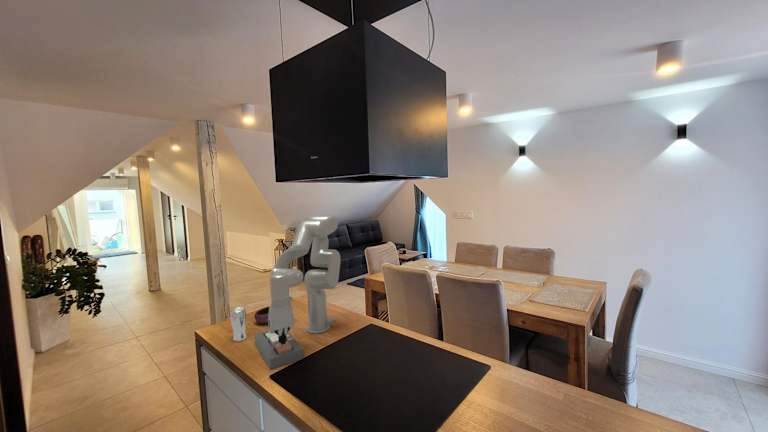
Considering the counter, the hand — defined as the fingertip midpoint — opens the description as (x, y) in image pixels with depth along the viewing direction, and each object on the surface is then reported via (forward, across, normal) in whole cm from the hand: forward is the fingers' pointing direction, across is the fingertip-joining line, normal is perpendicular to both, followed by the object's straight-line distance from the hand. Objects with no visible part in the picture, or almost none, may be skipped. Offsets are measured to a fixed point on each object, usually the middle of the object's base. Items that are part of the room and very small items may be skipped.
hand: (282, 343), depth 137 cm
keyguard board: (+7, 0, -9) cm, 12 cm away
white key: (+4, 0, -9) cm, 10 cm away
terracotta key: (+4, 0, 0) cm, 4 cm away
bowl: (+7, -6, -46) cm, 47 cm away
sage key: (+6, 0, -18) cm, 19 cm away
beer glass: (+7, +12, -33) cm, 36 cm away
